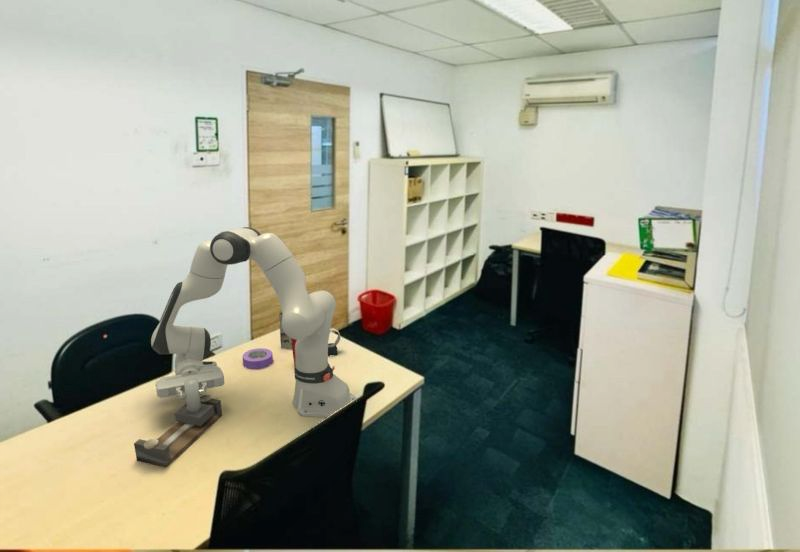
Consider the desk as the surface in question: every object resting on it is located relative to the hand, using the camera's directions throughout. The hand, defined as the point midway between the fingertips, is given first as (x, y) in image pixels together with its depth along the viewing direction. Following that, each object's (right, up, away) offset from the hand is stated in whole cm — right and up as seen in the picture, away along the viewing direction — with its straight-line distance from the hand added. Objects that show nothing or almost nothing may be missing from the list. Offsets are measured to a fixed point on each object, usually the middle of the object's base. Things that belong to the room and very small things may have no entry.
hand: (192, 395), depth 145 cm
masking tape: (+7, +2, +45) cm, 45 cm away
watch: (+35, +4, +54) cm, 65 cm away
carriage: (-1, -8, +3) cm, 9 cm away
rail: (-2, -13, -2) cm, 13 cm away
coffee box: (+16, +7, +61) cm, 63 cm away
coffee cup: (+25, +1, +43) cm, 50 cm away
